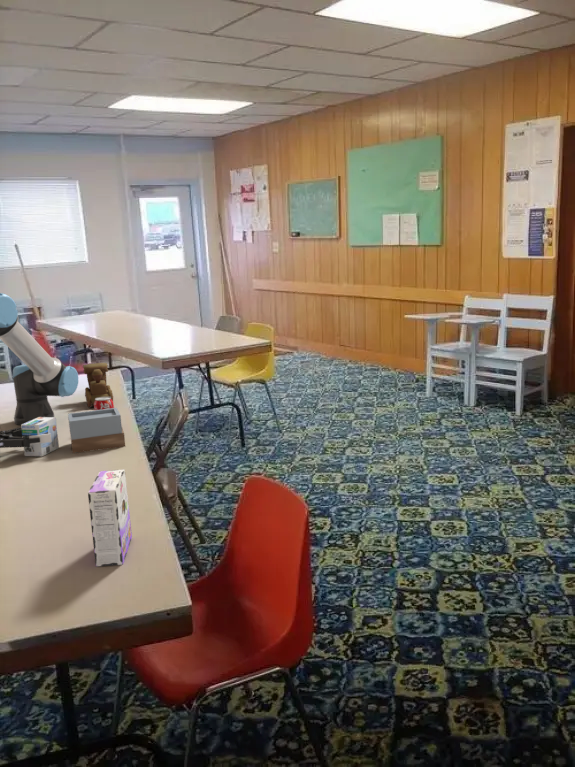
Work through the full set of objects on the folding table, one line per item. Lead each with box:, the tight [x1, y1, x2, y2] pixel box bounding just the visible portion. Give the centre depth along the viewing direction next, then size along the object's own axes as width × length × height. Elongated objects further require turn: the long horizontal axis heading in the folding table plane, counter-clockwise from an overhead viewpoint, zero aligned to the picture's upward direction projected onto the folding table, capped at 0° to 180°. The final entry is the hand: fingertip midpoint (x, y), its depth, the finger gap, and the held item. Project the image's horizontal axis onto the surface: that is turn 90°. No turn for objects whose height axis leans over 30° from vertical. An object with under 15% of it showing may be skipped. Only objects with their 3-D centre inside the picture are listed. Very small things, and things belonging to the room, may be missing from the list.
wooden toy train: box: [82, 362, 114, 408], centre depth 301 cm, size 20×11×17 cm, turn 19°
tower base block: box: [70, 428, 126, 454], centre depth 235 cm, size 13×17×5 cm
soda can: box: [93, 397, 115, 411], centre depth 254 cm, size 7×7×12 cm
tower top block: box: [67, 407, 123, 441], centre depth 234 cm, size 12×16×6 cm
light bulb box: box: [20, 416, 60, 457], centre depth 229 cm, size 11×7×11 cm, turn 167°
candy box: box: [87, 469, 133, 567], centre depth 147 cm, size 14×6×16 cm, turn 5°
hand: (51, 433), depth 230 cm, fingers closed on light bulb box, 12 cm apart
